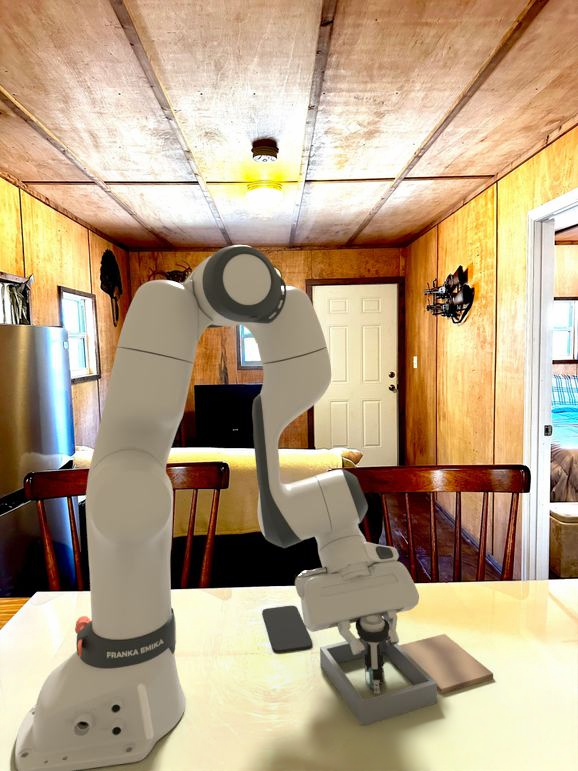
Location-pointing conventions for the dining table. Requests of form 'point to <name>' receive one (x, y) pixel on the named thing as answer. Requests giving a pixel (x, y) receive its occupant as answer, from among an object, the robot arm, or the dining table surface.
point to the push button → (373, 646)
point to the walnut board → (447, 663)
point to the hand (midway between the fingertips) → (376, 648)
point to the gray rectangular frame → (386, 703)
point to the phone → (286, 629)
